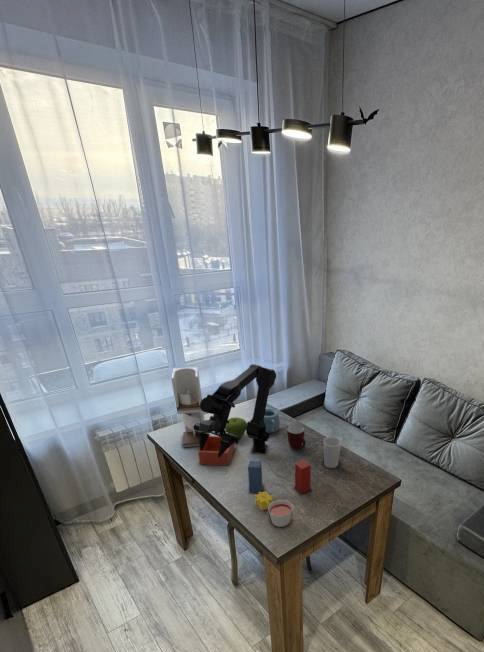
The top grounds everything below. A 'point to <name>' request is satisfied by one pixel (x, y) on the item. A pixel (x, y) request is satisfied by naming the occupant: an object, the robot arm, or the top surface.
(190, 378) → the arched white lantern
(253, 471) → the blue block
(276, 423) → the mug
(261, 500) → the toy block
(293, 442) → the mug
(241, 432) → the apple
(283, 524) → the candle
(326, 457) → the cup
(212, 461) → the red bin
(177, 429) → the top surface
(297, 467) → the red block
